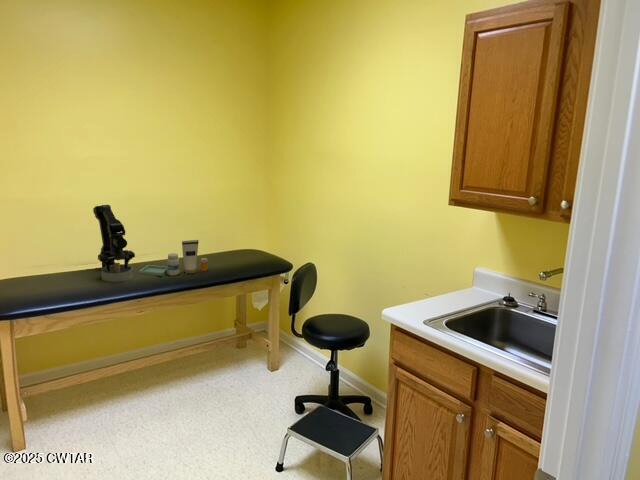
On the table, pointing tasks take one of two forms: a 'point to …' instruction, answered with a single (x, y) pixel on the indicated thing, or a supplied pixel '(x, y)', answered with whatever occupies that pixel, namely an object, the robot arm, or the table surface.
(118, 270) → the dowel pin
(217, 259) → the table surface
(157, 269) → the tray
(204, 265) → the toiletry set
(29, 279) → the table surface
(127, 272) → the translucent round bowl
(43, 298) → the table surface
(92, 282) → the table surface
